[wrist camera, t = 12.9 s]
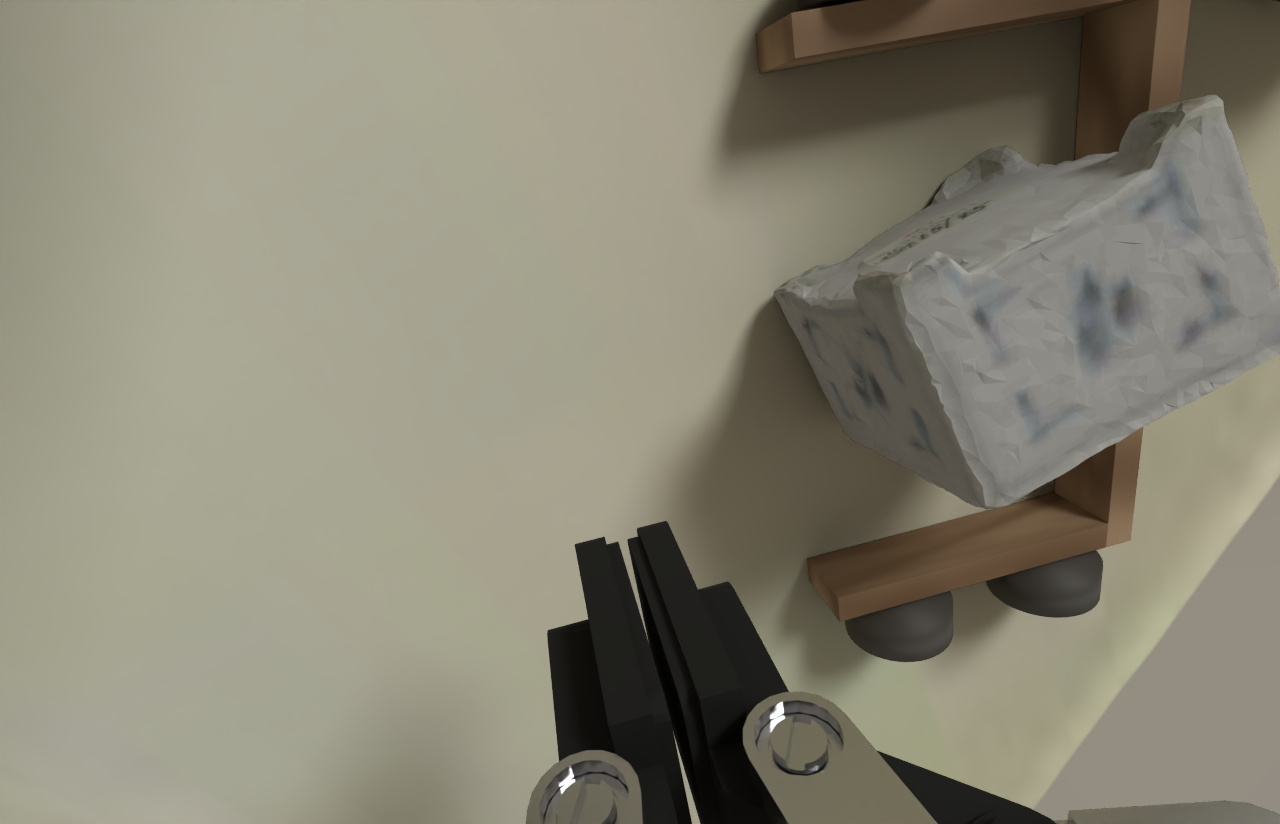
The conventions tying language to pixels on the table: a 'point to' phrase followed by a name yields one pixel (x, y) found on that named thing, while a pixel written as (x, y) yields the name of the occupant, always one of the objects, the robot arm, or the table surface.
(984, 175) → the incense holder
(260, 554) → the table surface
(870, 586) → the chassis bay
